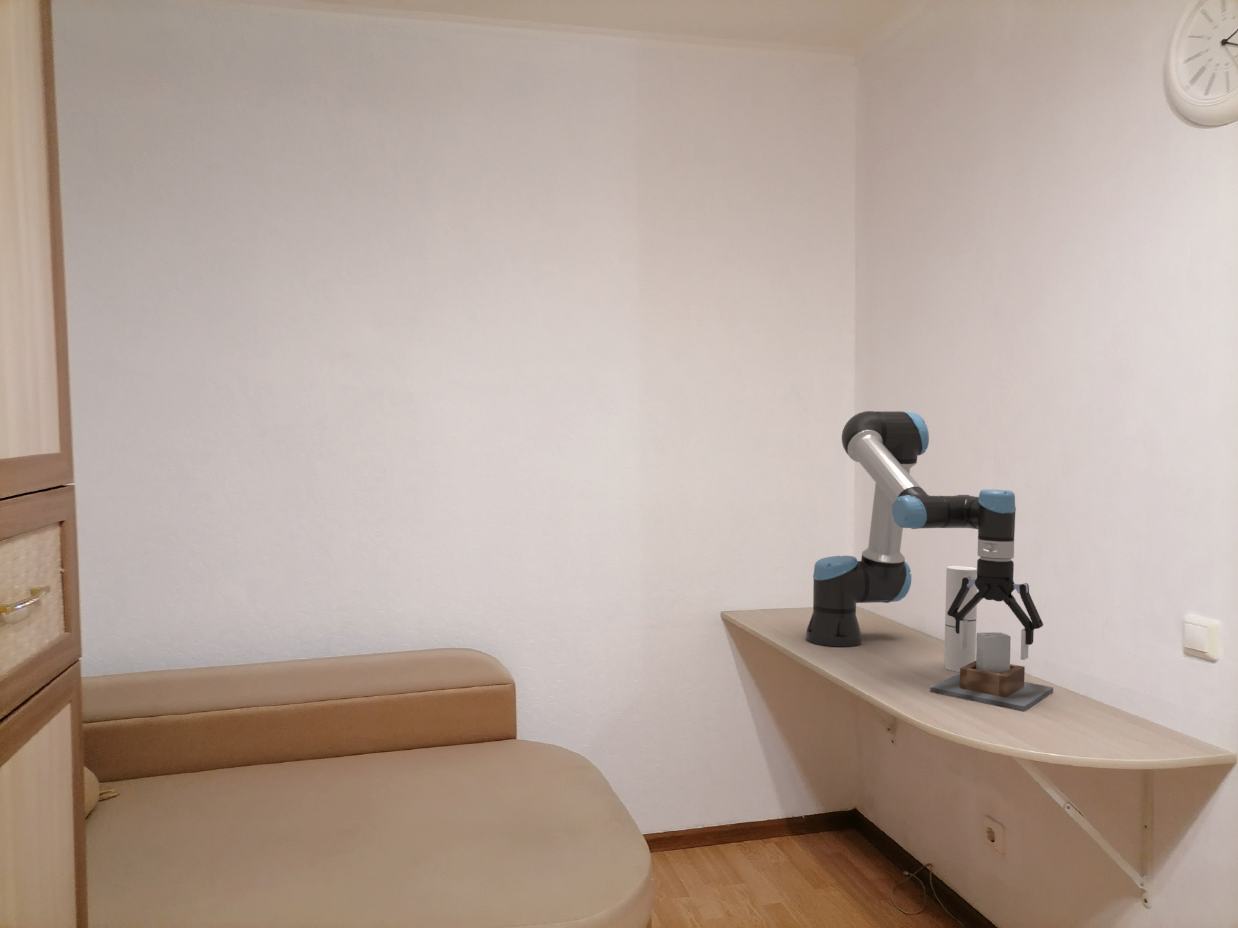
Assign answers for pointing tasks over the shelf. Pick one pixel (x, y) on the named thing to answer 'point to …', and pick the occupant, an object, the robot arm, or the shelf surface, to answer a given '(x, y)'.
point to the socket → (994, 687)
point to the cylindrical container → (952, 653)
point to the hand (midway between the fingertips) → (992, 653)
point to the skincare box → (993, 652)
